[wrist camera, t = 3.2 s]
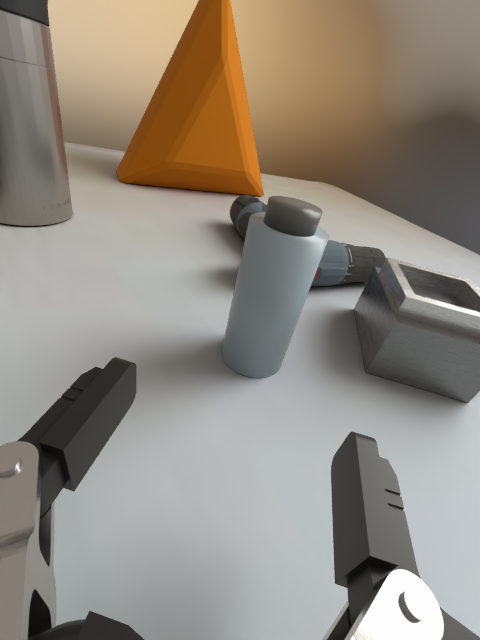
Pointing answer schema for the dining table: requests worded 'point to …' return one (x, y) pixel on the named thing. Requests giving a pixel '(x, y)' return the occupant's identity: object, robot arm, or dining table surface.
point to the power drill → (337, 258)
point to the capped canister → (272, 284)
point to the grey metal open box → (421, 329)
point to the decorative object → (198, 115)
